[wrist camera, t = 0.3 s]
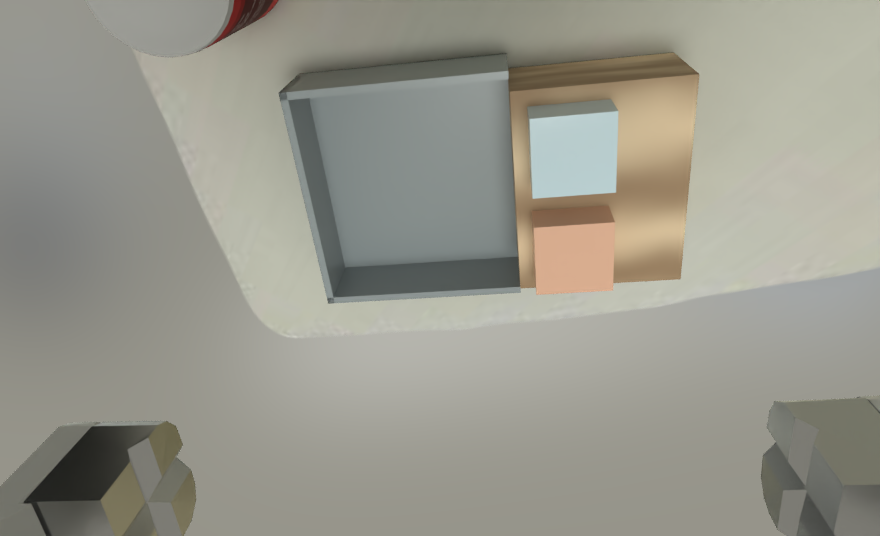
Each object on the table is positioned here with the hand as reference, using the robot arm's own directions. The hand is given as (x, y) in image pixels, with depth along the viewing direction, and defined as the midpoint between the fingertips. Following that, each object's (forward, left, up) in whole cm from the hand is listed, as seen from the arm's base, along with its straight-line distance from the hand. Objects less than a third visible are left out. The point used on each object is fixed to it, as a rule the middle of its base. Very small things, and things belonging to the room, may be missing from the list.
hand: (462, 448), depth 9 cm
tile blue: (+7, +5, -32) cm, 33 cm away
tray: (+11, -6, -38) cm, 40 cm away
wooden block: (+11, +7, -38) cm, 40 cm away
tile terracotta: (+14, +5, -32) cm, 35 cm away
